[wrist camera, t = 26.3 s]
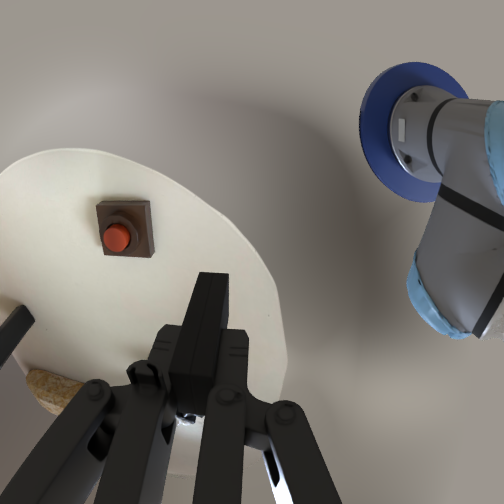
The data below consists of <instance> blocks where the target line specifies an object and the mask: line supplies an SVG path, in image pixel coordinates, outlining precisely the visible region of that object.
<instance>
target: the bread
mask: <svg viewBox="0 0 504 504" xmlns="http://www.w3.org/2000/svg"><path fill="white" fill-rule="evenodd" d="M26 381H27V385H28V387H29V389H30V390H31V392H32V393H33V395H34V396H35V397H36V399H37V400H38V401H39V403H40V404H41V405H42V406H43V407H44V408H45V409H47V410H48V411H49V412H51V413H54V414H56V415H58V416H59V415H60V413H61V412H62V411H63V409H64V408H65V407H66V406H67V404H68V403H69V402H70V401H71V399H72V398H73V397H74V396H75V394H76V393H77V392H78V391H79V389H80V388H81V387H82V386H83V385H84V383H81V382H77V381H74V380H71V379H68V378H65V377H62V376H59V375H56V374H53V373H50V372H47V371H44V370H36V369H35V370H31V371H30V372H29V373H28V375H27V376H26Z"/></svg>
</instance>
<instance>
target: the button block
mask: <svg viewBox="0 0 504 504" xmlns="http://www.w3.org/2000/svg"><path fill="white" fill-rule="evenodd" d="M96 211H97V217H98V224H99V233H100V239H101V242H102V247H103V252H104V255H110V256H126V257H142V258H151V257H152V255H153V254H154V252H155V250H154V241H153V231H152V221H151V210H150V201H102V202H100V203H99V204H97V205H96ZM114 224H121V225H123V226H124V227H126V228H127V230H128V231H129V234H130V242H129V244H128V245H127V246H126V247H125V248H124V249H123V250H122V251H120V252H114V251H112V250H110V249H109V248H108V247H107V246H106V245H105V243H104V233H105V231H106V230H107V229H108V228H109V227H111V226H112V225H114Z"/></svg>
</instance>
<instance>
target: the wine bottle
mask: <svg viewBox="0 0 504 504" xmlns="http://www.w3.org/2000/svg"><path fill="white" fill-rule="evenodd" d="M34 322H35V319H34V317H33V316H32V315H31V313H30V312H29V310H28V309H27V307H26V306H24V305H21V306H19V307H16V309H15V310H14V311H13V312H12V313H11V314H10V315H9V317H8V318H7V319H6V320H5V321H4V323H3V324H2V325H1V326H0V369H1V368H2V366H3V364H4V363H5V362H6V360H7V359H8V358H9V356H10V355H11V353H12V352H13V350H14V349H15V348H16V346H17V345H18V344H19V342H20V341H21V339H22V338H23V337H24V335H25V334H26V333H27V331H28V330H29V329H30V328H31V326H32V325H33V324H34Z"/></svg>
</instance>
